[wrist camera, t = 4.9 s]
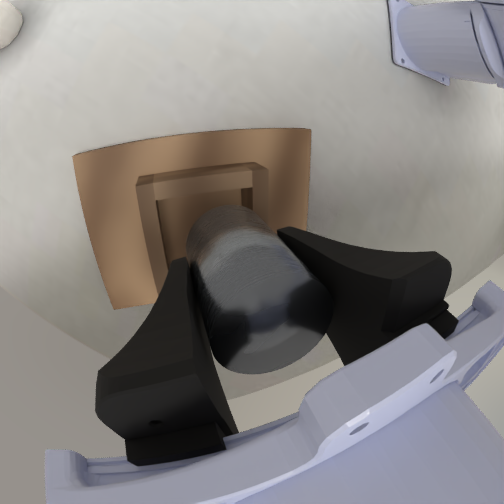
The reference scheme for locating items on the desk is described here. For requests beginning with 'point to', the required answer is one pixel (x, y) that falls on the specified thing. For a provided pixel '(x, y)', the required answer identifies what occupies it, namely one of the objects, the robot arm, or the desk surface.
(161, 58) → the desk surface
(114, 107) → the desk surface
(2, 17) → the milkshake
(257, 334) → the pin
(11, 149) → the desk surface
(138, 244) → the socket board
